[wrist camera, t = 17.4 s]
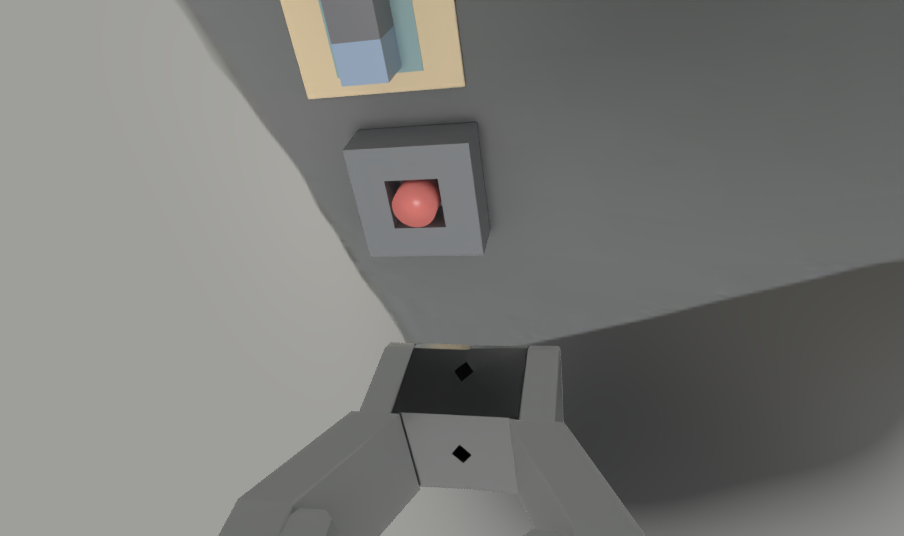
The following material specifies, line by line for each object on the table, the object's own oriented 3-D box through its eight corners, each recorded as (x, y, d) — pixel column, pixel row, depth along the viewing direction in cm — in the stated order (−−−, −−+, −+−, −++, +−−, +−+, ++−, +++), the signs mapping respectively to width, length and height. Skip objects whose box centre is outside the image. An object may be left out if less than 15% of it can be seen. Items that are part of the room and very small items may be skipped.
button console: (476, 122, 47) (468, 143, 44) (490, 229, 53) (483, 255, 50) (358, 129, 49) (342, 150, 46) (383, 232, 55) (370, 256, 52)
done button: (441, 166, 49) (431, 186, 46) (447, 205, 51) (439, 226, 48) (399, 168, 50) (387, 188, 47) (407, 206, 52) (396, 227, 49)
